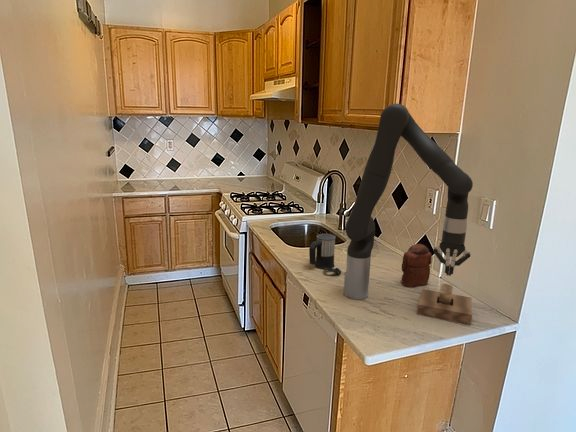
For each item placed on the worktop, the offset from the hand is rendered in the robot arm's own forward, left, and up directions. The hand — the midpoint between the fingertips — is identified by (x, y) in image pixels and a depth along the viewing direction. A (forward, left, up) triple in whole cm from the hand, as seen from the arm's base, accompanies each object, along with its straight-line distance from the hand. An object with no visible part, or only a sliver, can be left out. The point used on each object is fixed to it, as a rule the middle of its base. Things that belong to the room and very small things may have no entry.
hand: (448, 274), depth 141 cm
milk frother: (-51, +19, -15) cm, 57 cm away
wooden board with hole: (0, 0, -15) cm, 15 cm away
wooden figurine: (-13, +19, -15) cm, 27 cm away
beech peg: (0, 0, -15) cm, 15 cm away
